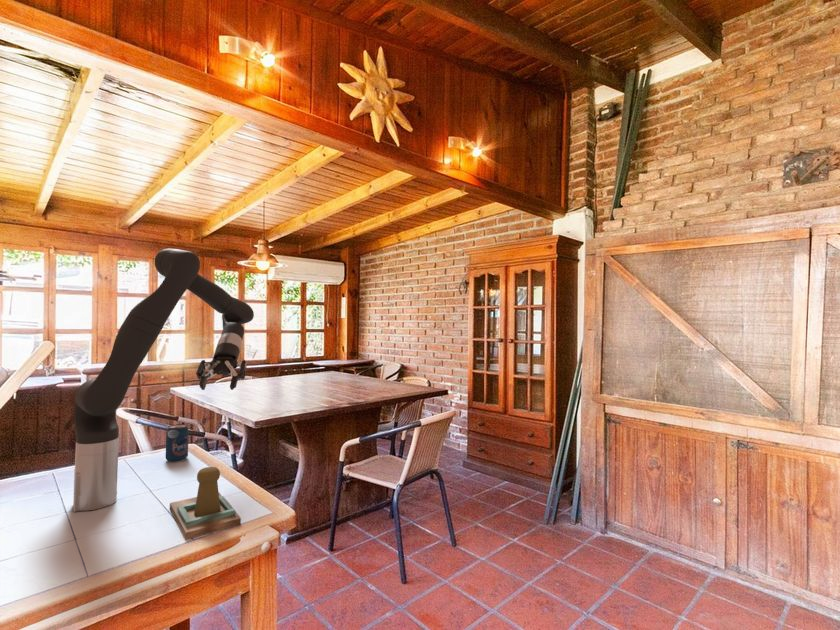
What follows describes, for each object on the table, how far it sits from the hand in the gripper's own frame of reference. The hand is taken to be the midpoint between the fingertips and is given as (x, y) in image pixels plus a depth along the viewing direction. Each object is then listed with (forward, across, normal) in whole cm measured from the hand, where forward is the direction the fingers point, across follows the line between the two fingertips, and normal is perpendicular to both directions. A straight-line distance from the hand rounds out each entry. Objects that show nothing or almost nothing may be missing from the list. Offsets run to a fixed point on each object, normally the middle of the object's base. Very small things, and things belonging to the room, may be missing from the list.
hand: (217, 388), depth 132 cm
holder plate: (+38, +5, +3) cm, 38 cm away
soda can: (+4, -19, +36) cm, 41 cm away
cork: (+38, +6, +1) cm, 38 cm away
